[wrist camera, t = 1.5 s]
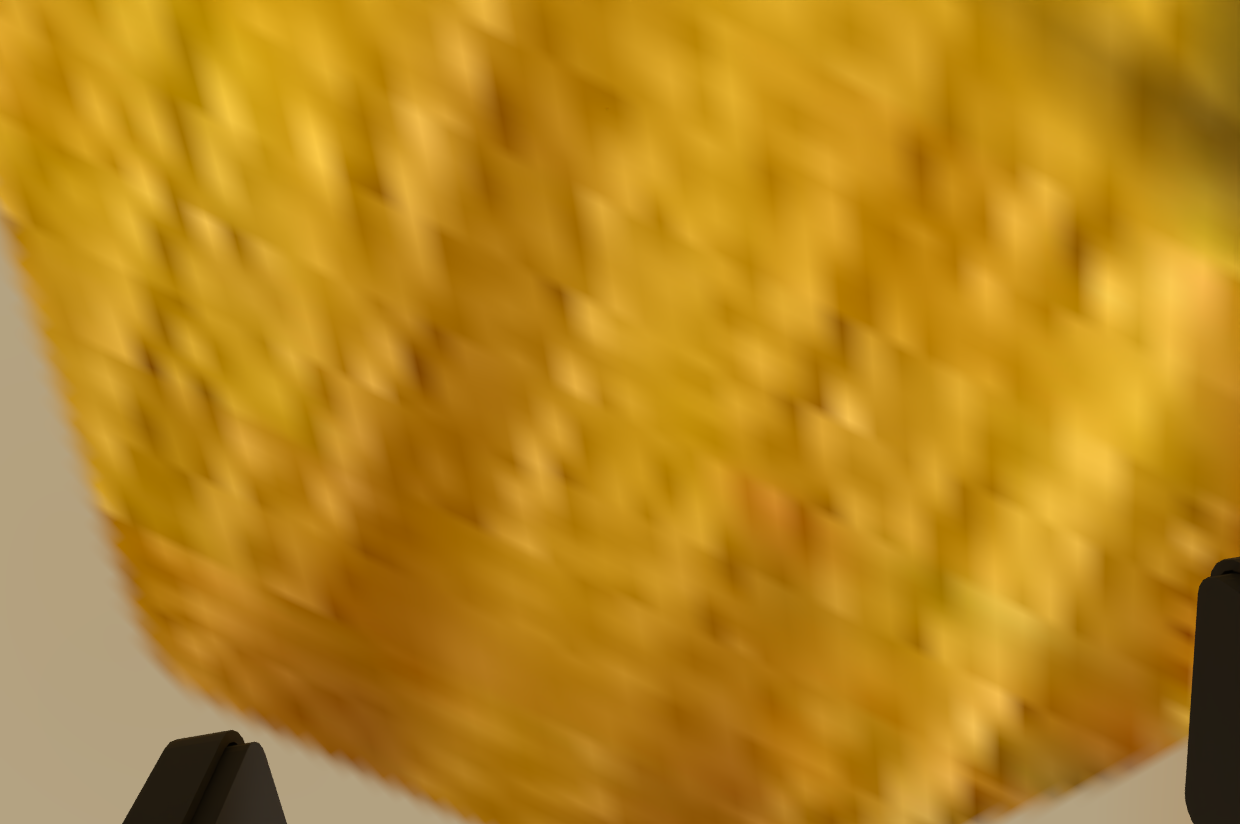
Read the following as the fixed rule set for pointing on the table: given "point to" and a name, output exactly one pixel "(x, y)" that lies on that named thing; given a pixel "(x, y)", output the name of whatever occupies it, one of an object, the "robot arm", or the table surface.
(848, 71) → the table surface
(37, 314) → the table surface
